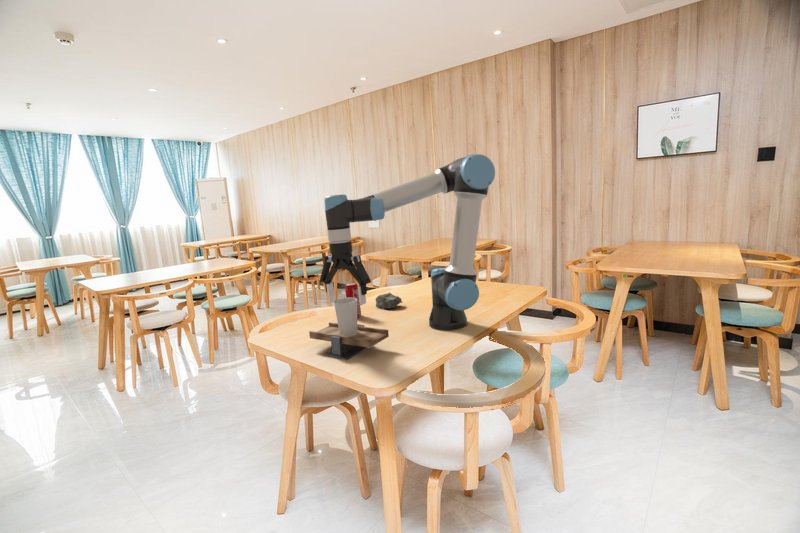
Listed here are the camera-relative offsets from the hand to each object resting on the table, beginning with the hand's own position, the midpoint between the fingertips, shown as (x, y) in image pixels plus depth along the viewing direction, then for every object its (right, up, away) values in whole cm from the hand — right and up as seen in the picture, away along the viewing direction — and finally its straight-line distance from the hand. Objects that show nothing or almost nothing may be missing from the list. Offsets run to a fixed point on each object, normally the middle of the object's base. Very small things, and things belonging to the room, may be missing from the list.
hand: (347, 302), depth 139 cm
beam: (0, -12, +2) cm, 12 cm away
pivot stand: (+1, -17, +3) cm, 17 cm away
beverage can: (-2, -10, +42) cm, 44 cm away
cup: (0, -11, +2) cm, 11 cm away
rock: (+13, -7, +54) cm, 56 cm away
